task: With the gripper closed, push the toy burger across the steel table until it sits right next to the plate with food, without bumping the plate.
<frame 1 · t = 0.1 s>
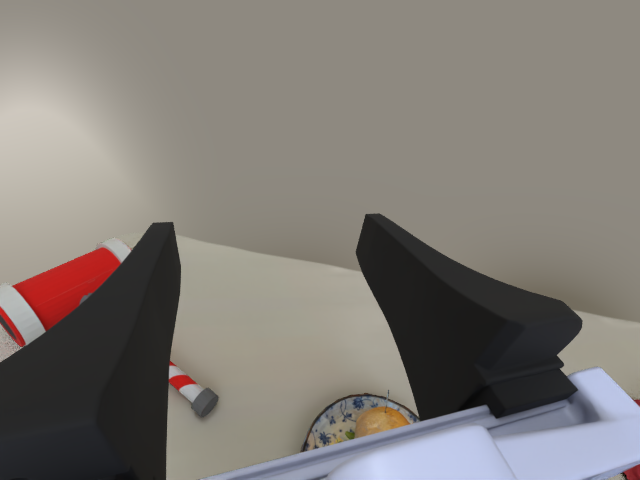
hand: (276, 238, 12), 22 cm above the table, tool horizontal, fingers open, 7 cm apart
burger: (373, 478, 25), on the table
toy hammer: (119, 335, 33), on the table
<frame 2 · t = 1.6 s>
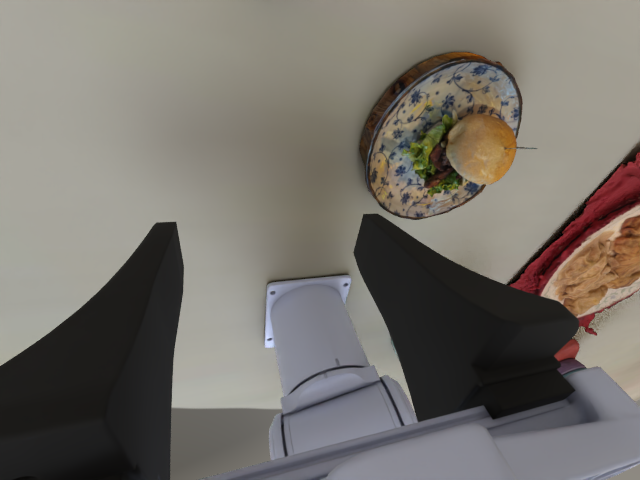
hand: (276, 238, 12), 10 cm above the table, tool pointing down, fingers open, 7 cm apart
burger: (432, 141, 24), on the table
stacking bear: (546, 358, 62), on the table
plate with food: (599, 252, 41), on the table
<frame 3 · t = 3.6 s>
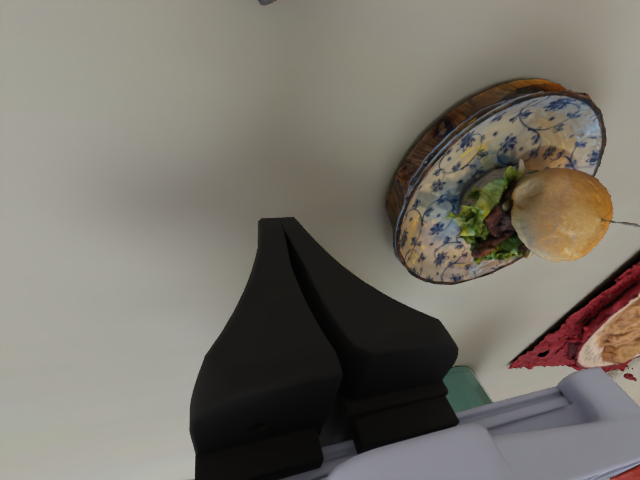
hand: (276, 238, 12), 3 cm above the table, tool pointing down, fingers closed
green cup: (439, 386, 36), on the table
burger: (478, 189, 18), on the table
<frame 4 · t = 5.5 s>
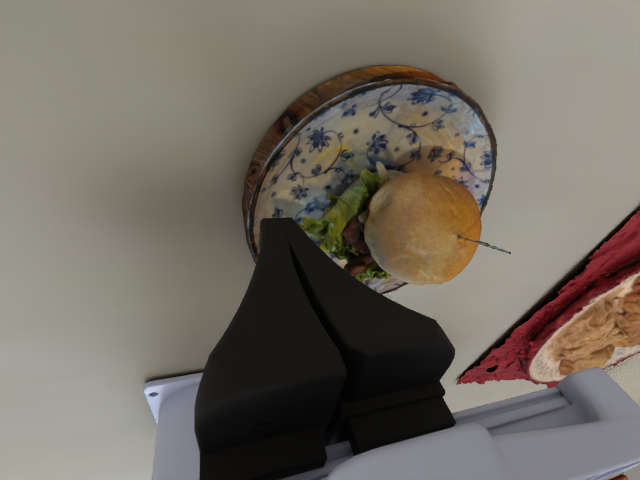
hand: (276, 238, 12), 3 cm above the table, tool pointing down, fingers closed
burger: (365, 195, 16), on the table, touching gripper
plate with food: (604, 306, 33), on the table
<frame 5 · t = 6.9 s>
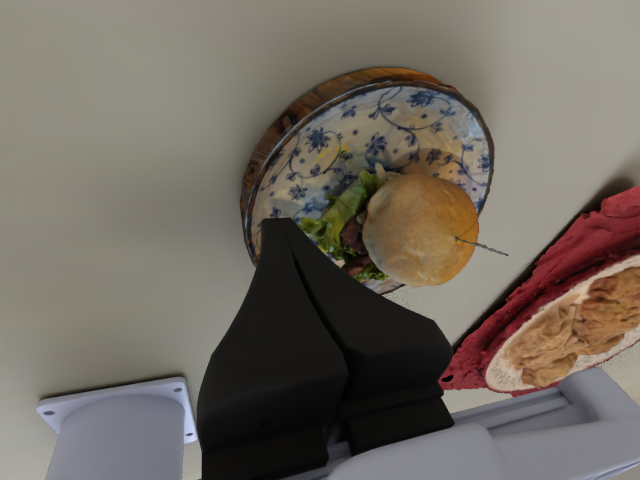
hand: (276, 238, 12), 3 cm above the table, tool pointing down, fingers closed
burger: (363, 196, 16), on the table, touching gripper
plate with food: (565, 312, 32), on the table
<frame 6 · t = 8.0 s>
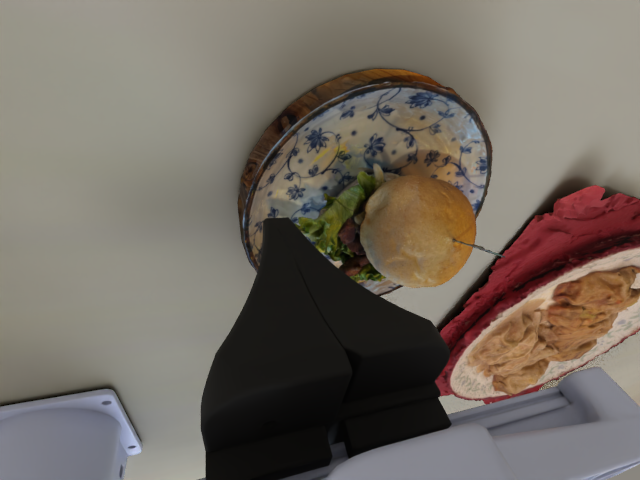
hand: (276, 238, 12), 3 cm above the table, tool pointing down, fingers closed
burger: (361, 197, 16), on the table, touching gripper
plate with food: (534, 317, 31), on the table
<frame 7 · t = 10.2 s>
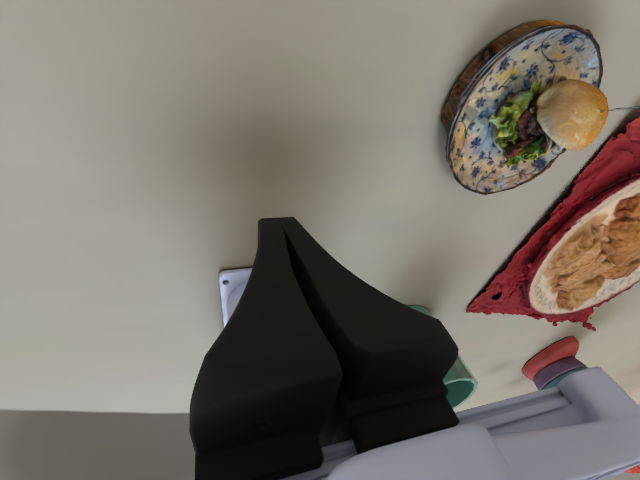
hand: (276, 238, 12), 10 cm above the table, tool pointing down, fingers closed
green cup: (400, 327, 38), on the table
burger: (506, 114, 24), on the table
stacking bear: (545, 357, 58), on the table
plate with food: (593, 239, 38), on the table
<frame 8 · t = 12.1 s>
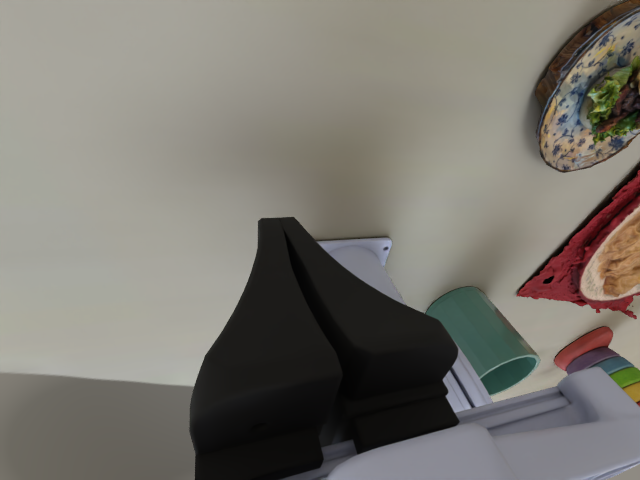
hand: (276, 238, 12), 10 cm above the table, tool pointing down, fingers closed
green cup: (453, 309, 39), on the table
burger: (591, 92, 25), on the table
stacking bear: (577, 347, 59), on the table
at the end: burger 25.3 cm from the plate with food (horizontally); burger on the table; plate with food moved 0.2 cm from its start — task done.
